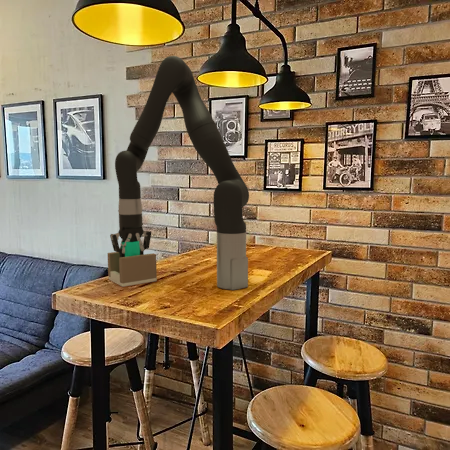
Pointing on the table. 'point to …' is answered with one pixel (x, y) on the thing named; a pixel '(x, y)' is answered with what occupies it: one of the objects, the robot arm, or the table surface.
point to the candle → (131, 248)
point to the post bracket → (131, 269)
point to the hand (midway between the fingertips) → (132, 262)
